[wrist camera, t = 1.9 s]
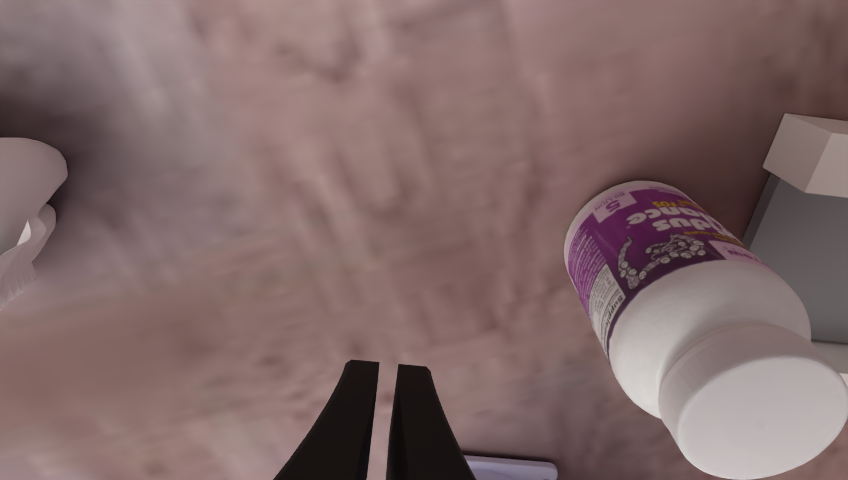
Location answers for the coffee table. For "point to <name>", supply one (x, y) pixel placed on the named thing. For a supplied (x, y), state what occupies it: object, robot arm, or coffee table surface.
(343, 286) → the coffee table surface
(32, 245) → the elephant figurine
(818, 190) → the cradle
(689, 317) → the pill bottle
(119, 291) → the coffee table surface
